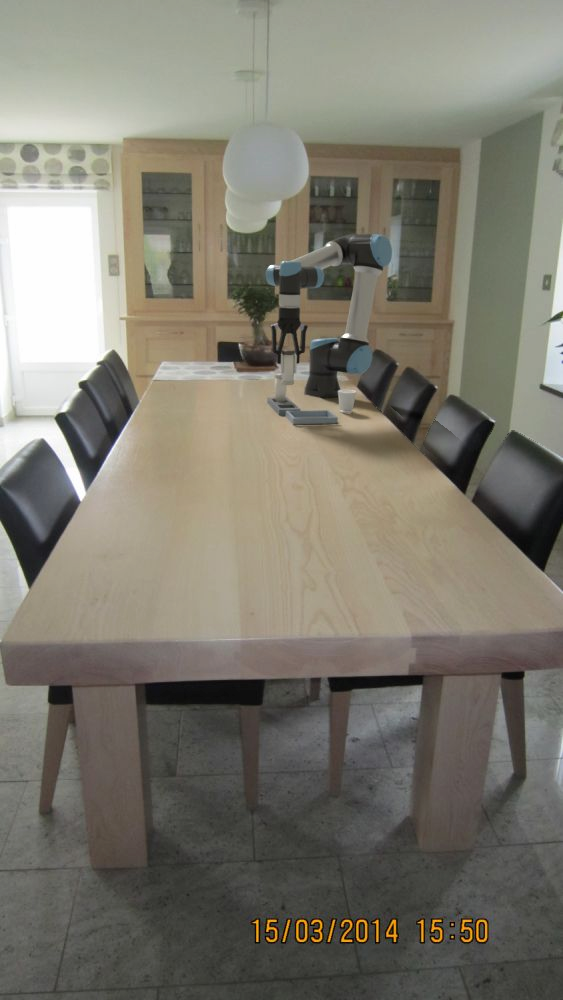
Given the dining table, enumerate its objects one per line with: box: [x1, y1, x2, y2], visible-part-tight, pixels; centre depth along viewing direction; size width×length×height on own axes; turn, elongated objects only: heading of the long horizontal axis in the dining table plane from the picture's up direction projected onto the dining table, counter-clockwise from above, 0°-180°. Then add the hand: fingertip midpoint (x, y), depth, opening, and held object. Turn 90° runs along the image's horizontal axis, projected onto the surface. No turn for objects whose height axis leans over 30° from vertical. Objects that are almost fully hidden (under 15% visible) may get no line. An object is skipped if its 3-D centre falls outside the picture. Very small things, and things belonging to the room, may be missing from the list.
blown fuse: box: [281, 349, 295, 386], centre depth 272 cm, size 5×5×12 cm
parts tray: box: [285, 409, 339, 426], centre depth 266 cm, size 16×12×2 cm
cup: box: [337, 389, 357, 415], centre depth 281 cm, size 7×10×8 cm
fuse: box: [274, 372, 287, 402], centre depth 285 cm, size 5×5×12 cm
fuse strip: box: [266, 396, 302, 416], centre depth 282 cm, size 8×22×2 cm, turn 12°
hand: (287, 372), depth 273 cm, fingers closed on blown fuse, 4 cm apart
